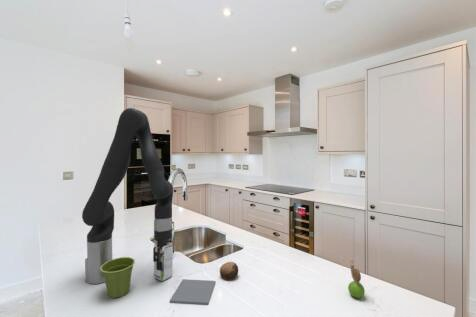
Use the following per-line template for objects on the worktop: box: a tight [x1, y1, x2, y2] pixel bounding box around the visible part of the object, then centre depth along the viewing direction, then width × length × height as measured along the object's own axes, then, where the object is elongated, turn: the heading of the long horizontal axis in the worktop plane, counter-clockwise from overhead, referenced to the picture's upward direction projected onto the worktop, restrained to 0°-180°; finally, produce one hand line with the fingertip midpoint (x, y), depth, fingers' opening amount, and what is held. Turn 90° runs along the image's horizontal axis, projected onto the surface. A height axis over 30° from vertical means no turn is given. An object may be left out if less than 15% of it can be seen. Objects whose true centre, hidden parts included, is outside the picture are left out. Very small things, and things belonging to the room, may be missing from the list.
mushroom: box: [219, 261, 239, 281], centre depth 100 cm, size 8×8×6 cm
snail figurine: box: [347, 260, 365, 299], centre depth 86 cm, size 5×6×12 cm
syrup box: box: [153, 242, 174, 282], centre depth 99 cm, size 6×6×14 cm
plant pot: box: [100, 256, 136, 299], centre depth 88 cm, size 12×12×11 cm
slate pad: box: [169, 278, 217, 306], centre depth 89 cm, size 14×14×1 cm
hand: (163, 265), depth 99 cm, fingers closed on syrup box, 7 cm apart
